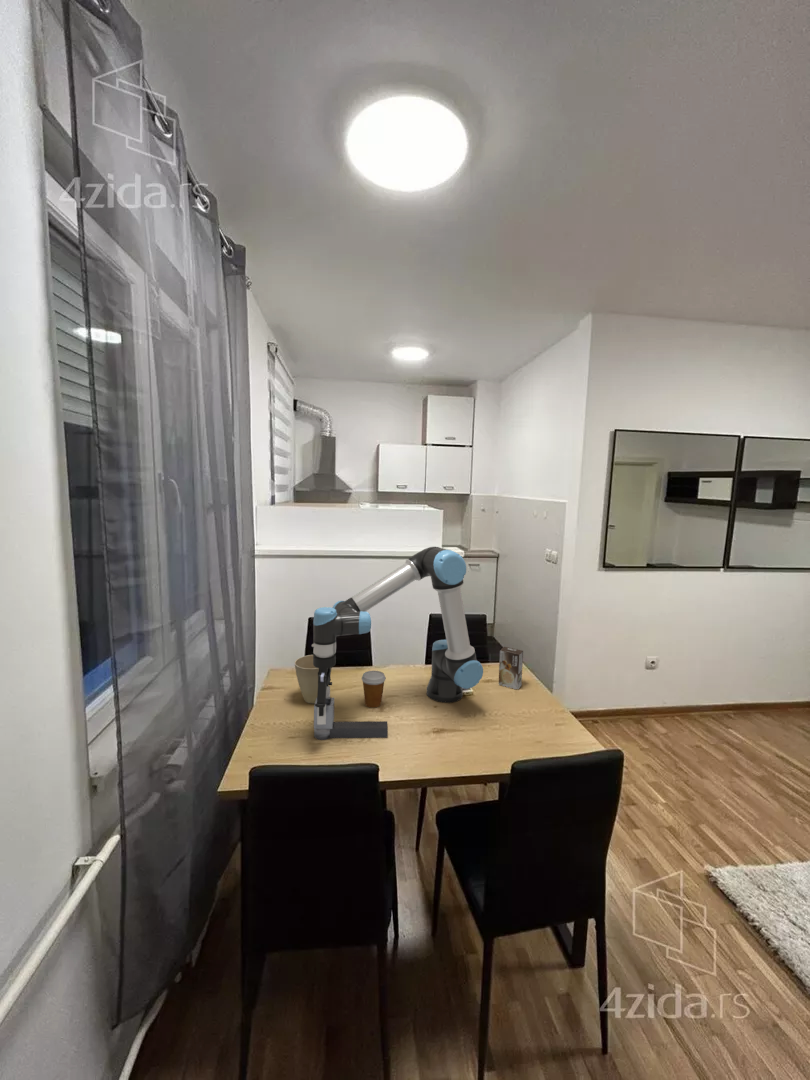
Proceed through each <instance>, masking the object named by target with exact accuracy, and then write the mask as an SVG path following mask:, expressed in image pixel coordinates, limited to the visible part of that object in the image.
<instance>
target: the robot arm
mask: <svg viewBox="0 0 810 1080" xmlns="http://www.w3.org/2000/svg"><path fill="white" fill-rule="evenodd" d="M466 574H467V563H466V561H465V559H464V558H463V557H462V555H460V554H459V553H457V552H456V551H454V550H451V549H445V548H442V547H440V546H430V547H427V548H424V549H422V550H420V551H419V552H417V553H415V554H413V555H412V556H410V557H409V558H407V559H406V560H405V562H404V564H402V565H400V566H399V567H397V568H396V569H394V570H393V571H391V572H389V573H388V574H386V575H385V576H383V577H382V578H379V579H378V580H377V581H375V582H374V583H372V584H370V585H368V586H367V587H366V588H364V589H362V590H361V591H359V592H358V593H356V594H354V595H352V596H351V597H349V598H348V599H346V600H338V601H336V602H335V603H334V604H333V605H332V607H326V606H324V607H319V608H317V609H316V610H314V612H313V622H312V624H313V625H312V626H313V630H312V631H313V632H312V633H313V643H312V644H311V647H312V648H313V652H312V653H313V654H312V655H313V665H314V666H315V667H316V668H319V672H318V693H317V704H315V703H314V705H315V706H317V725H322V724H326V704H325V702H326V698H331V686H333V681H332V679H331V675H330V672H331V673H332V669H330V668H331V667H332V668H333V667H334V666H336V664H337V663H336V662H337V661H336V659H337V657H336V656H337V655H336V653H337V637H340V636H351V635H362V634H368V633H369V632H370V631H371V629H372V617H371V614H370V613H369V610H371V609H372V608H374V607H376V605H378V604H380V603H382V602H383V601H384V600H386V599H387V598H389V597H391V596H392V595H394V594H395V593H397V592H399V591H400V590H401V589H405V587H407V586H408V585H410V584H411V583H414V582H415V581H421V580H422V579H424V578H426V577H427V578H428V577H430V580H431V585H432V586H431V587H432V589H433V590H434V591H436V592H437V595H438V602H439V607H440V613H441V618H442V623H443V629H444V633H445V639H439V640H435V641H434V642H433V643H432V648H431V649H432V650H431V676H430V678H429V680H428V684H427V686H426V696H427V697H428V698H429V699H431V700H432V701H435V702H439V703H447V704H448V703H455V702H458V701H460V700H461V699H462V698H463V692H464V690H463V689H466V690H467V689H471V688H474V687H475V686H477V685H478V684H479V682H480V681H481V679H482V678H483V675H484V668H483V667H484V666H483V664H482V663H481V662H480V661H478V660H477V654H476V651H475V649H476V648H475V647H474V646H472V645H471V644H470V643H471V642H470V637H469V631H468V626H467V619H466V613H465V608H464V601H463V596H462V591H461V588H462V586H463V585H464V579H465V576H466Z"/></svg>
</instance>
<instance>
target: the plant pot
mask: <svg viewBox="0 0 810 1080" xmlns="http://www.w3.org/2000/svg"><path fill="white" fill-rule="evenodd" d="M313 655H314V654H308V655H304V656H300V657H298V658H297V659H296V660H295V661H294V668H295V669H294V670H295V673H296V678H297V682H298V686H299V689H300V692H301V695H302V699H303V700H304V702H305V703H307V704H315V701H316V698H317V693H318V672H319V668H316V667H315V666H314V665H313ZM332 668H333V667H331V668H330V669H331V670H333V669H332ZM331 673H332V671H331V672H330V676H331Z"/></svg>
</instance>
